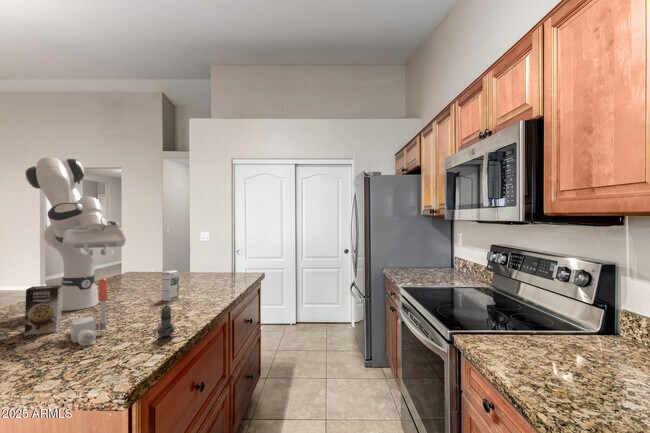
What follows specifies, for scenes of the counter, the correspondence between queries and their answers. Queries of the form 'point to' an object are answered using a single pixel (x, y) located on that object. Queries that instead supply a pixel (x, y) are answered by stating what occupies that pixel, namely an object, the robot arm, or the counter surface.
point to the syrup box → (170, 285)
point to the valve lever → (102, 301)
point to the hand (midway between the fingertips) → (97, 254)
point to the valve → (84, 330)
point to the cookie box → (43, 309)
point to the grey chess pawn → (165, 325)
